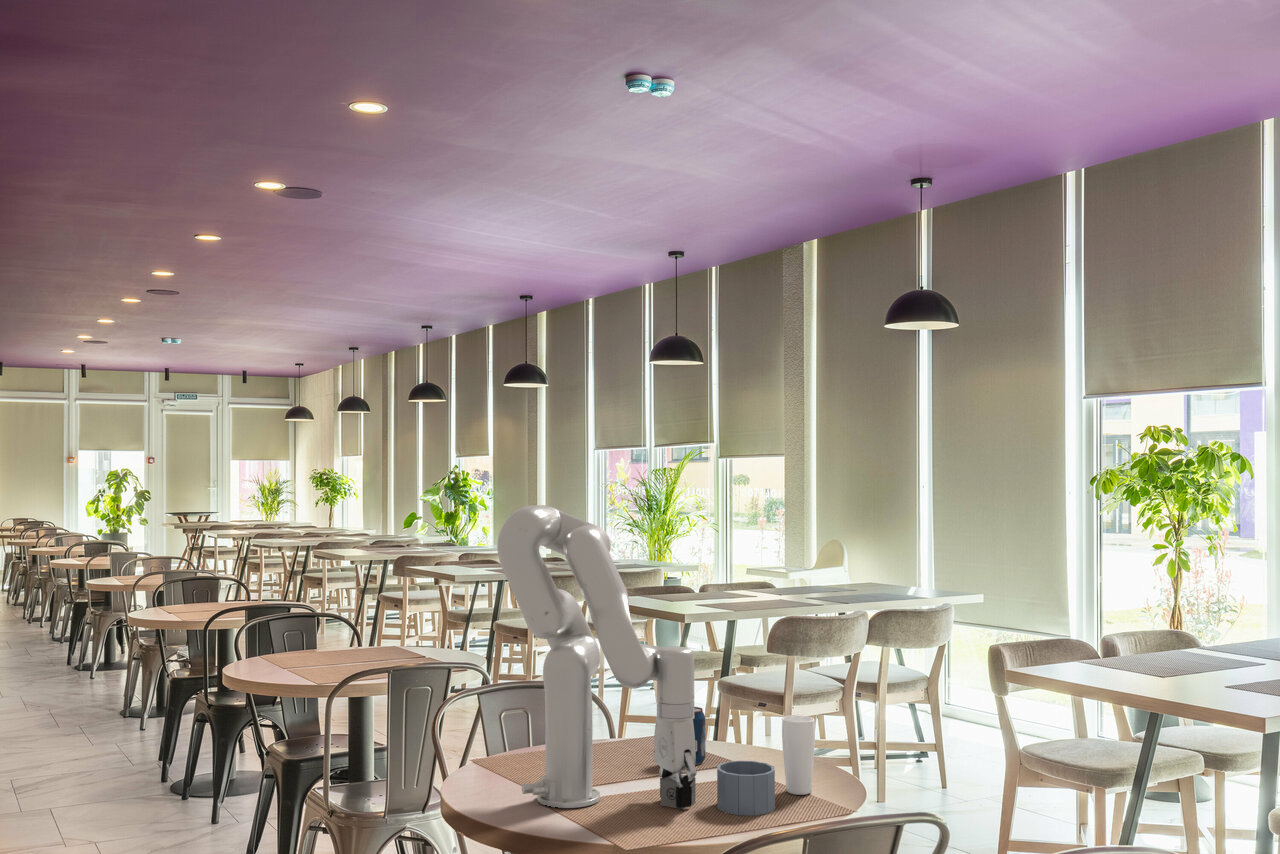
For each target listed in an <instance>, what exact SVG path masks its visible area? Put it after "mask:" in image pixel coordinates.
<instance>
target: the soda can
mask: <svg viewBox="0 0 1280 854" xmlns="http://www.w3.org/2000/svg"><path fill="white" fill-rule="evenodd" d="M692 720H693V725H694V734H695V753H696V759H695V766H697V765H701V764H703V763H704V761H705V759H706V756H707V755H706V753H707V752H706V751H707V750H706V716H705V713H704V710H703V708H702V707H698V706H694V719H692Z"/></svg>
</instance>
